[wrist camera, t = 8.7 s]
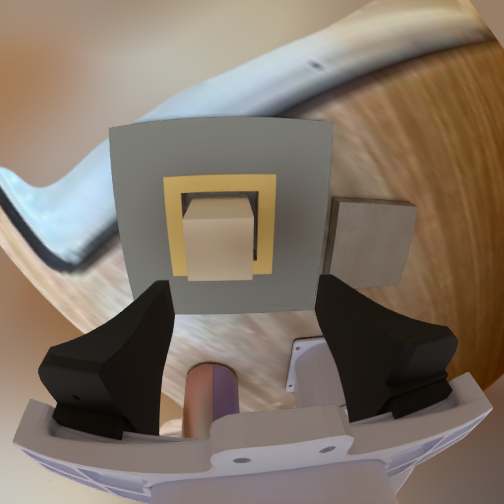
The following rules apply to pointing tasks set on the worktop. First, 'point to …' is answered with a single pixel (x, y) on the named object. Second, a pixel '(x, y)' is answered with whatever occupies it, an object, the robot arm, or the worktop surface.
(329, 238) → the tab
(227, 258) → the peg
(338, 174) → the worktop surface
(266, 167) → the hole board
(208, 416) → the beverage can
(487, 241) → the worktop surface
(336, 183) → the worktop surface
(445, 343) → the robot arm
